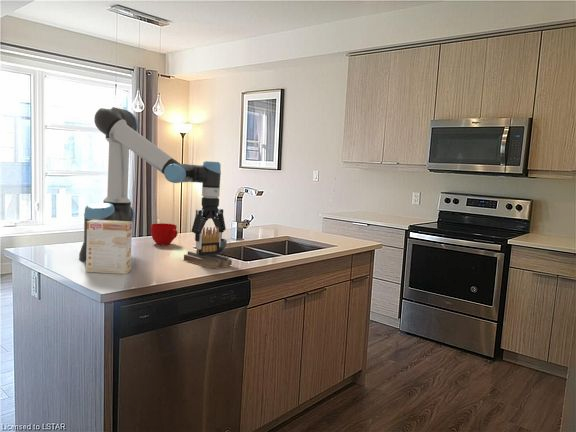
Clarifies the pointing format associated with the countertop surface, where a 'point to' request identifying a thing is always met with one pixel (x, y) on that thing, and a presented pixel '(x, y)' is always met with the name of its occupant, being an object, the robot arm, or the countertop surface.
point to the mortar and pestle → (222, 245)
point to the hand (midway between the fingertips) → (208, 247)
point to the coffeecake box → (108, 246)
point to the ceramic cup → (163, 233)
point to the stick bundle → (208, 260)
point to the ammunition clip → (209, 242)
